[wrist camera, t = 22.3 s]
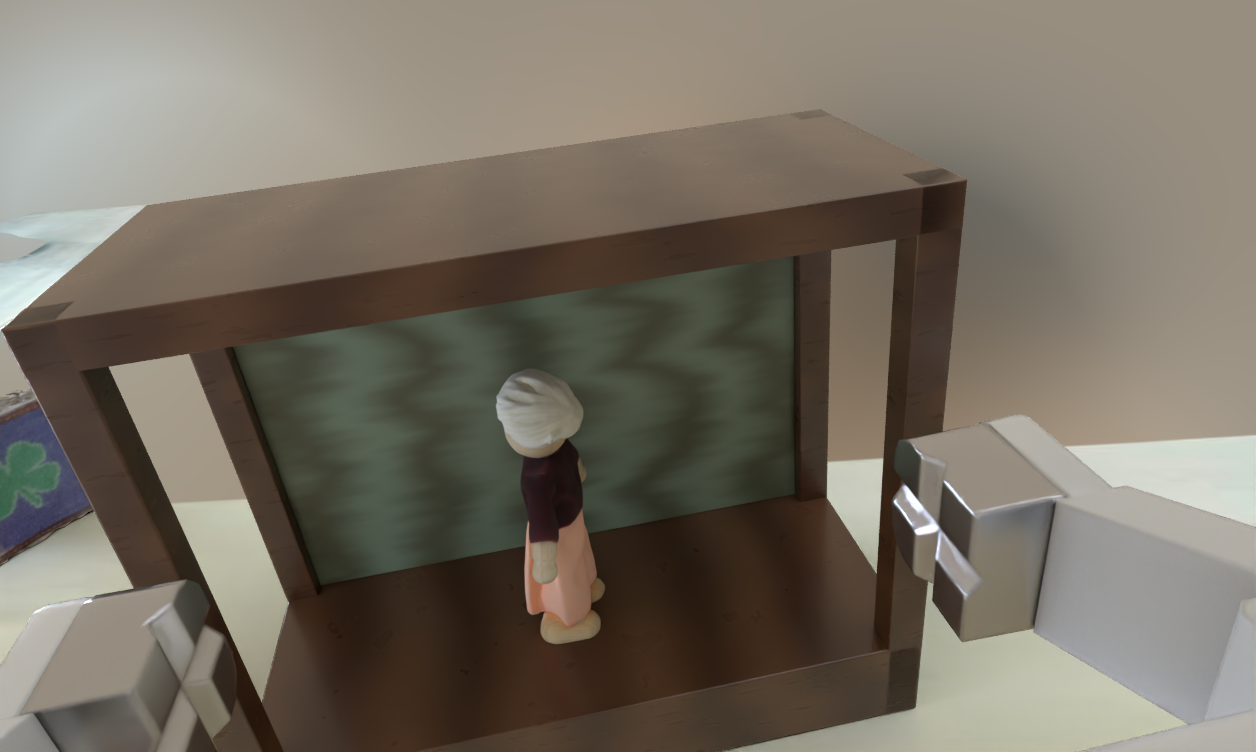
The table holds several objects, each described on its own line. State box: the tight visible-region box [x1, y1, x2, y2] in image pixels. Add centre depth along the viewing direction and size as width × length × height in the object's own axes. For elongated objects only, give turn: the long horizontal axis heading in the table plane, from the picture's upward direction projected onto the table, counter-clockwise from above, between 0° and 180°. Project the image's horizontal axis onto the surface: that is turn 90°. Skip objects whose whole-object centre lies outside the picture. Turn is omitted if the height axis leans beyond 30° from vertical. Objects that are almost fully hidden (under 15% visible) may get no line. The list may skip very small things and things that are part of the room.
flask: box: [0, 389, 93, 565], centre depth 53 cm, size 9×3×11 cm, turn 149°
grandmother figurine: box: [496, 368, 605, 644], centre depth 35 cm, size 8×4×13 cm, turn 5°
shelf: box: [1, 109, 967, 752], centre depth 35 cm, size 28×12×24 cm, turn 100°
